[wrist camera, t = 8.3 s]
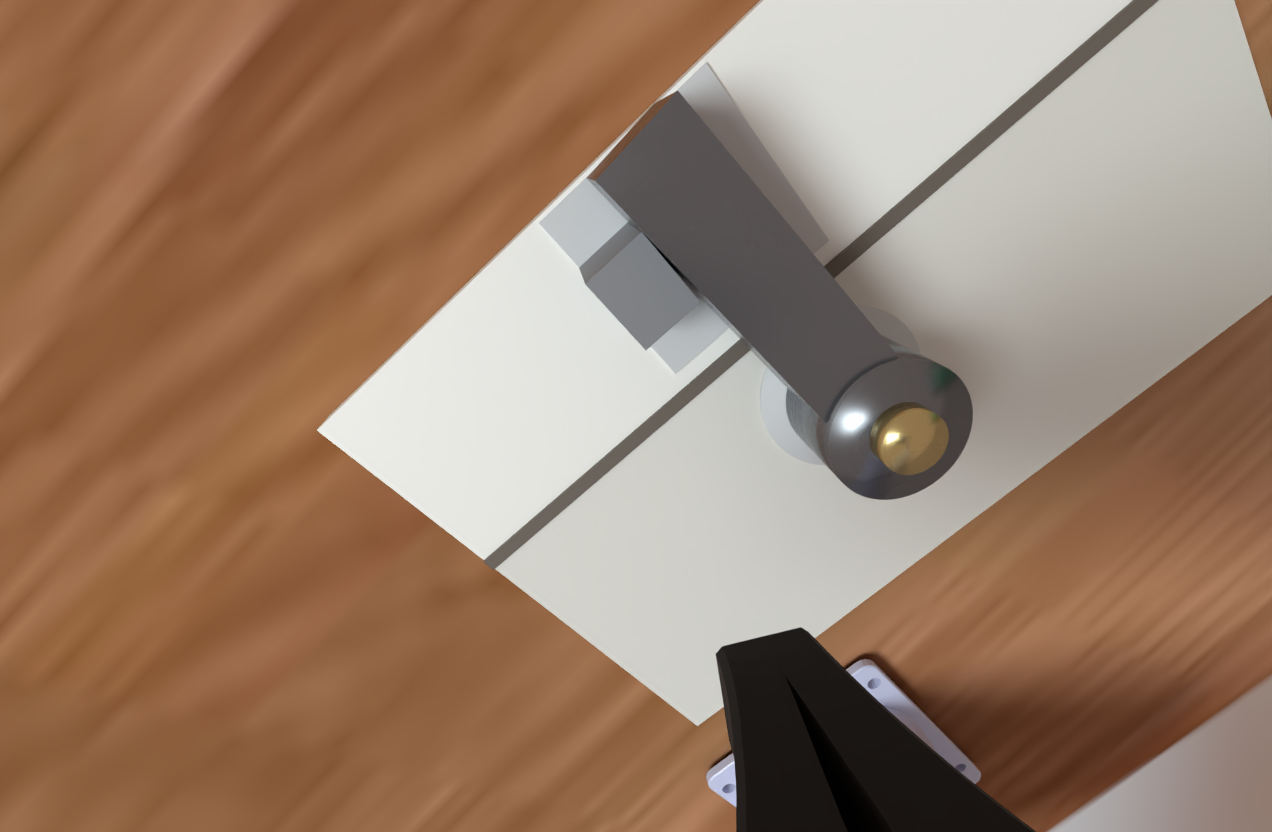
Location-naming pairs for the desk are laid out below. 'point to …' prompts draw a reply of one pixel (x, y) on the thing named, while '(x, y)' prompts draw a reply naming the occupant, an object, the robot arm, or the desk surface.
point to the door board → (873, 279)
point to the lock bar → (787, 308)
